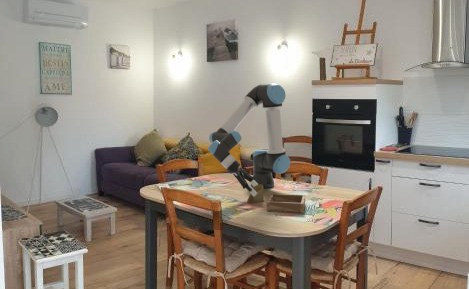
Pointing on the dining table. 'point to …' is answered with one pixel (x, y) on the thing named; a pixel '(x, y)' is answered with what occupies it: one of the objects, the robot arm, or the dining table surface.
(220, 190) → the dining table surface
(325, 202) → the dining table surface
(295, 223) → the dining table surface
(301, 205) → the crate
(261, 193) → the rock
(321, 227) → the dining table surface
